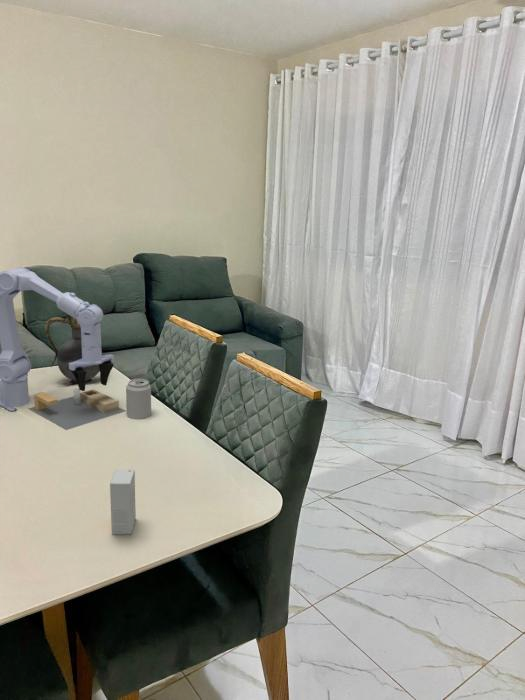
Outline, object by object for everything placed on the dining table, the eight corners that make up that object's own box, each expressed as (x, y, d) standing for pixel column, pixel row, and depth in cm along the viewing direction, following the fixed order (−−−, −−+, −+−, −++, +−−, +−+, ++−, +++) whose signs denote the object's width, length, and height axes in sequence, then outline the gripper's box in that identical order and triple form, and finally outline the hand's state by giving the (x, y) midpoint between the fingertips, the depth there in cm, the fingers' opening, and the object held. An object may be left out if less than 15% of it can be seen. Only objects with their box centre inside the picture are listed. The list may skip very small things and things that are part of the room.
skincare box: (115, 518, 117) (114, 468, 114) (136, 518, 117) (135, 468, 114) (110, 535, 111) (109, 483, 108) (131, 535, 112) (131, 483, 108)
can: (154, 413, 173) (153, 378, 169) (147, 423, 166) (146, 386, 162) (131, 412, 173) (130, 376, 170) (123, 421, 166) (122, 384, 163)
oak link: (80, 401, 177) (79, 392, 176) (93, 397, 181) (93, 389, 180) (105, 413, 168) (105, 404, 168) (118, 409, 172) (118, 400, 171)
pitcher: (104, 387, 194) (101, 304, 185) (47, 389, 188) (42, 305, 180) (103, 377, 204) (101, 298, 195) (49, 379, 198) (44, 299, 190)
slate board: (28, 411, 169) (26, 393, 168) (87, 395, 185) (86, 378, 183) (66, 433, 156) (65, 413, 154) (126, 413, 172) (126, 396, 170)
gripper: (77, 352, 157) (79, 396, 160) (119, 344, 167) (120, 385, 171) (64, 347, 161) (66, 390, 165) (106, 339, 172) (107, 379, 175)
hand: (93, 387), depth 168 cm, fingers open, 7 cm apart
